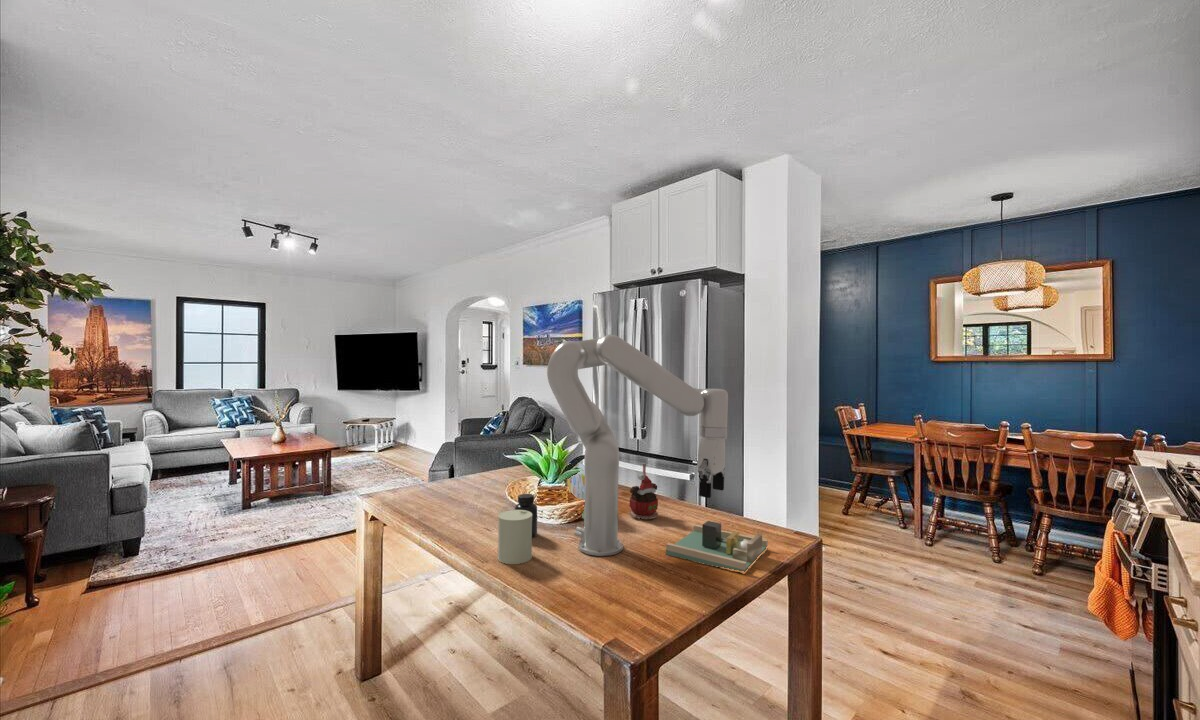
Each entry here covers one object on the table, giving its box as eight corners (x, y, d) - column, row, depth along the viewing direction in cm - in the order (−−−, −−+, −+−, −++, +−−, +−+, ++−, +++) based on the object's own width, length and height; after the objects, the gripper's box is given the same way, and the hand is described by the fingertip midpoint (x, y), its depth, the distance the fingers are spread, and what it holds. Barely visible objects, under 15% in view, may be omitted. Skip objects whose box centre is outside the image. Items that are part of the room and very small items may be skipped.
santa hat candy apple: (646, 510, 177) (647, 459, 177) (664, 517, 170) (665, 464, 170) (622, 515, 172) (623, 463, 171) (639, 523, 164) (640, 468, 164)
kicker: (700, 547, 140) (700, 525, 140) (709, 540, 145) (709, 519, 145) (730, 554, 135) (730, 532, 135) (738, 547, 140) (738, 525, 140)
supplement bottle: (539, 531, 154) (539, 493, 154) (534, 539, 148) (534, 499, 147) (517, 530, 155) (518, 492, 155) (511, 538, 148) (512, 498, 148)
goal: (732, 558, 133) (733, 540, 133) (744, 547, 141) (744, 530, 141) (751, 562, 130) (751, 544, 130) (761, 551, 138) (762, 534, 138)
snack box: (601, 520, 166) (601, 474, 166) (585, 521, 164) (585, 476, 164) (579, 502, 186) (580, 461, 186) (565, 503, 184) (566, 462, 184)
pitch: (665, 554, 138) (666, 544, 138) (695, 533, 155) (695, 524, 155) (744, 574, 126) (744, 563, 126) (767, 549, 142) (767, 540, 142)
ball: (747, 542, 134) (751, 555, 133) (751, 538, 137) (755, 551, 136) (735, 543, 136) (739, 557, 135) (739, 539, 139) (743, 553, 138)
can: (539, 555, 136) (539, 511, 136) (515, 567, 128) (516, 520, 128) (514, 548, 141) (515, 505, 141) (490, 558, 133) (490, 514, 133)
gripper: (712, 428, 150) (710, 484, 150) (688, 434, 136) (686, 497, 136) (736, 430, 146) (735, 489, 146) (714, 437, 132) (712, 502, 132)
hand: (711, 493), depth 141 cm, fingers open, 9 cm apart
